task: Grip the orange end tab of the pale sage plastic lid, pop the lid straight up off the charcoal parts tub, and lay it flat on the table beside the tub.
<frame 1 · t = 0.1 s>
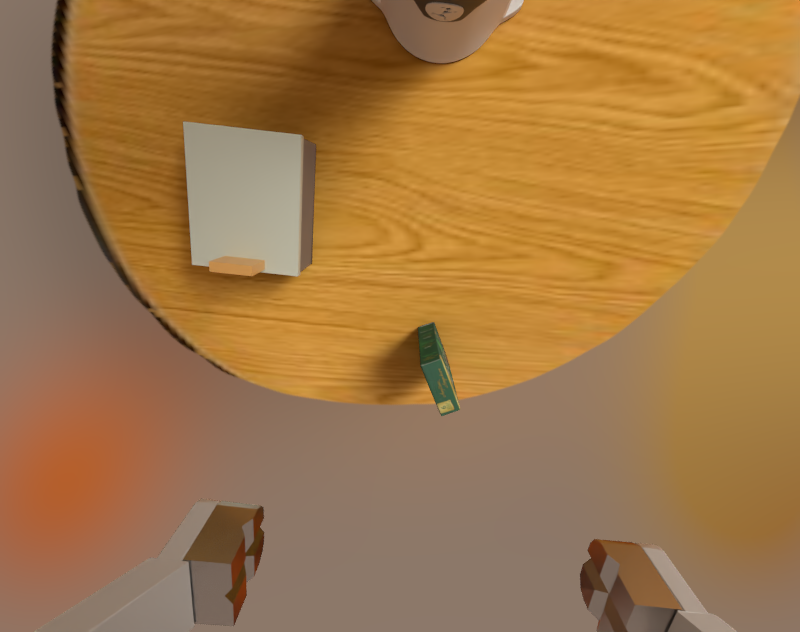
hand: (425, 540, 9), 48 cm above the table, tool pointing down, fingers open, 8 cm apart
lid: (247, 203, 47), point 7 cm above the table, touching tub
coffee box: (434, 346, 60), on the table
tub: (267, 201, 53), on the table
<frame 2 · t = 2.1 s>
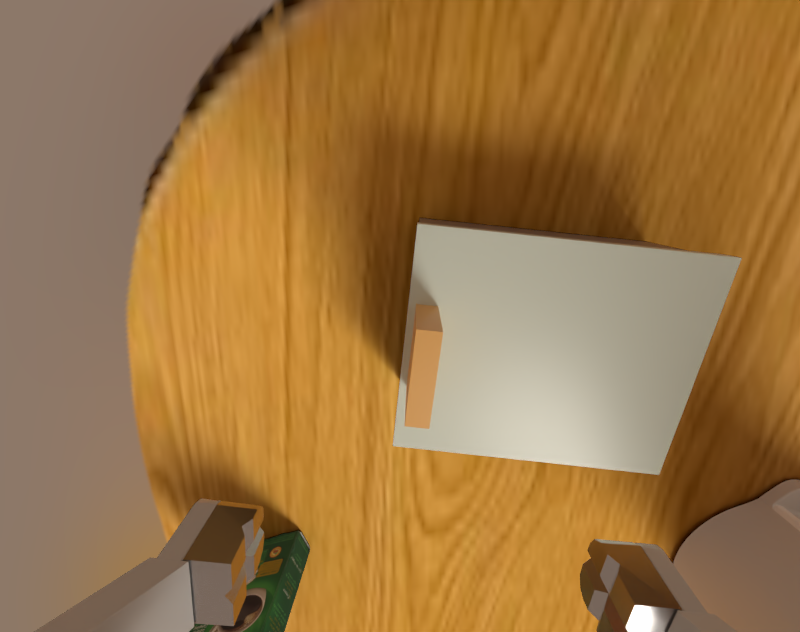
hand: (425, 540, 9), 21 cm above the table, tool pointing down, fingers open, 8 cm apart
lid: (544, 354, 22), point 7 cm above the table, touching tub
coffee box: (269, 545, 37), on the table
tub: (514, 316, 29), on the table
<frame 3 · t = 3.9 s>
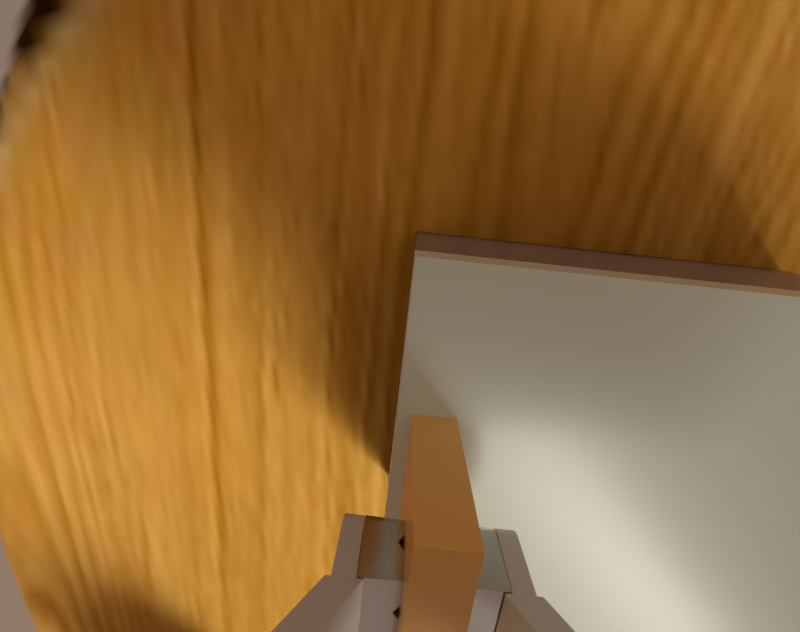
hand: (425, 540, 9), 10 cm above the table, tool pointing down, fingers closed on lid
lid: (650, 490, 12), point 7 cm above the table, touching gripper, tub
tub: (564, 384, 19), on the table
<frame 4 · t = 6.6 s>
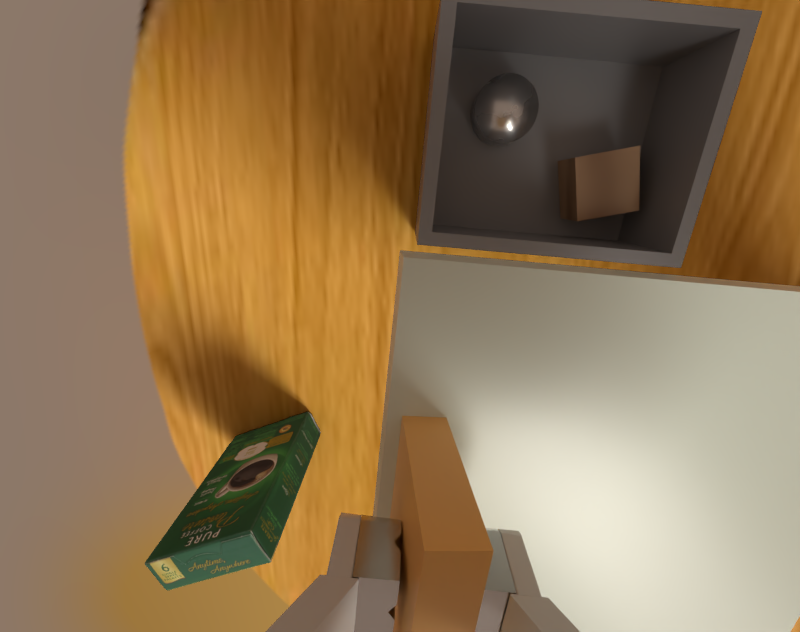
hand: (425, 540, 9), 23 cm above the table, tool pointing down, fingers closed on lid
lid: (623, 472, 13), point 20 cm above the table, tilted 6°, touching gripper
walnut block: (587, 185, 28), point 1 cm above the table, touching tub
metal nut: (499, 114, 26), point 1 cm above the table, touching tub
coffee box: (277, 433, 36), on the table
tub: (533, 151, 28), on the table
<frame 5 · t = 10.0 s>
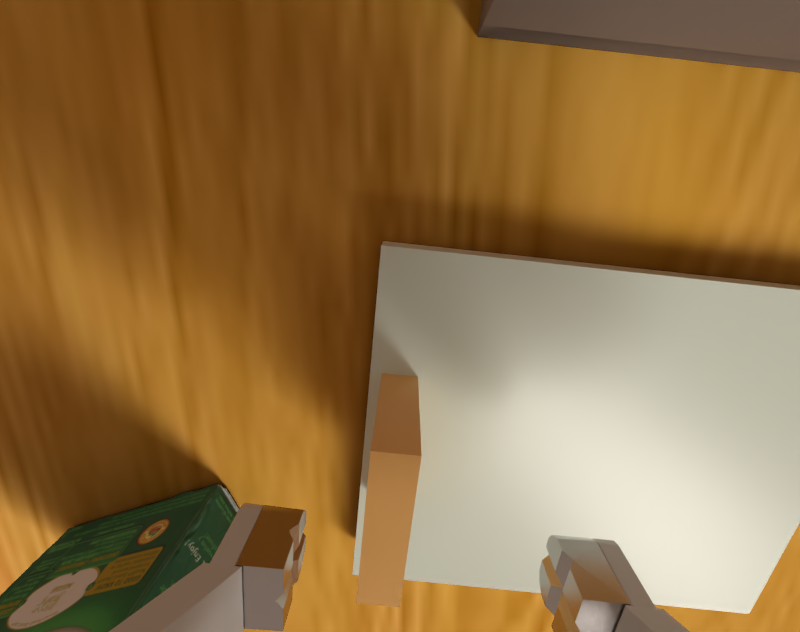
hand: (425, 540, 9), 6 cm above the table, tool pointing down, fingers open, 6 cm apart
lid: (582, 441, 15), on the table
coffee box: (160, 522, 17), on the table
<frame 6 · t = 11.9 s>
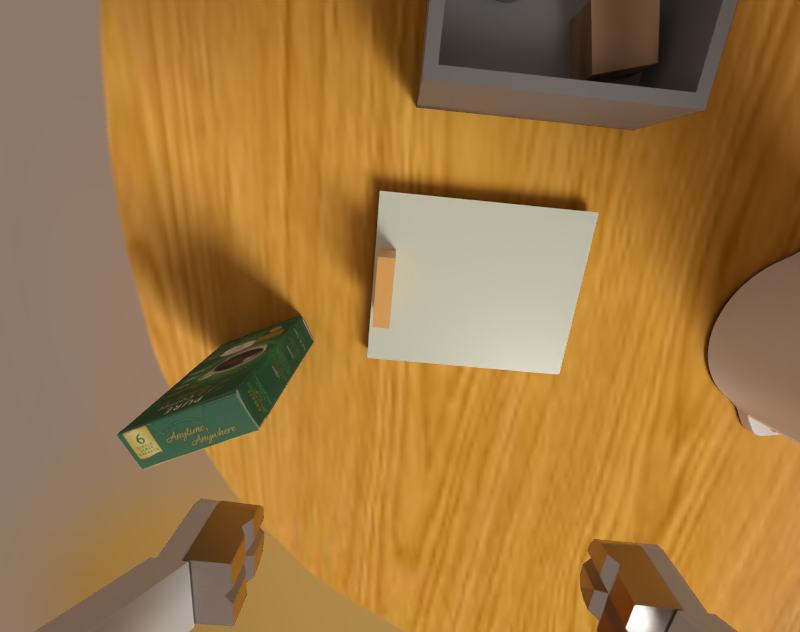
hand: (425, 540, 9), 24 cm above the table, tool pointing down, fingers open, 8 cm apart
lid: (473, 286, 31), on the table
walnut block: (600, 49, 26), point 1 cm above the table, touching tub
coffee box: (267, 342, 33), on the table
tub: (544, 13, 26), on the table
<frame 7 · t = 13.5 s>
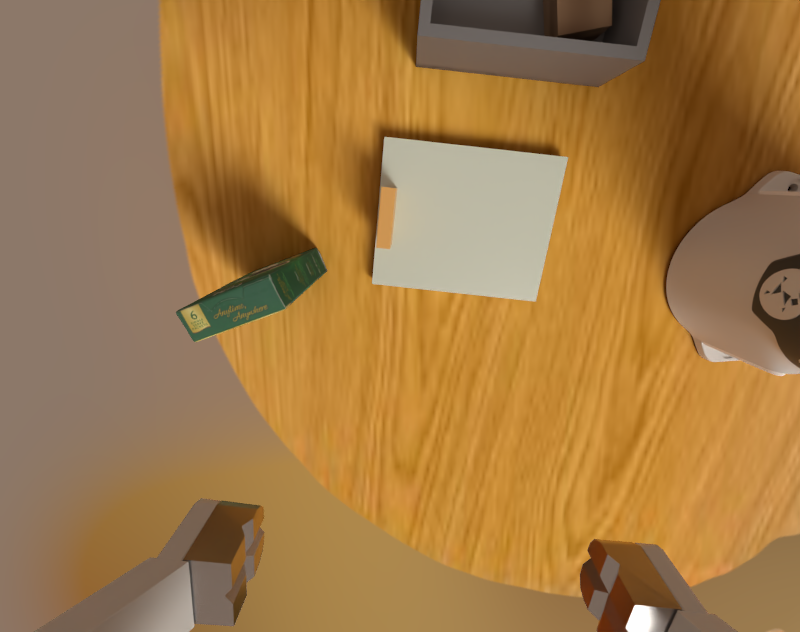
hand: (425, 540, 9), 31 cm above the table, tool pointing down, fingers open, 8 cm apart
lid: (463, 223, 37), on the table
walnut block: (568, 16, 31), point 1 cm above the table, touching tub
coffee box: (288, 272, 40), on the table
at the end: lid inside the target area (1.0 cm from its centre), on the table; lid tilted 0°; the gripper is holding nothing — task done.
